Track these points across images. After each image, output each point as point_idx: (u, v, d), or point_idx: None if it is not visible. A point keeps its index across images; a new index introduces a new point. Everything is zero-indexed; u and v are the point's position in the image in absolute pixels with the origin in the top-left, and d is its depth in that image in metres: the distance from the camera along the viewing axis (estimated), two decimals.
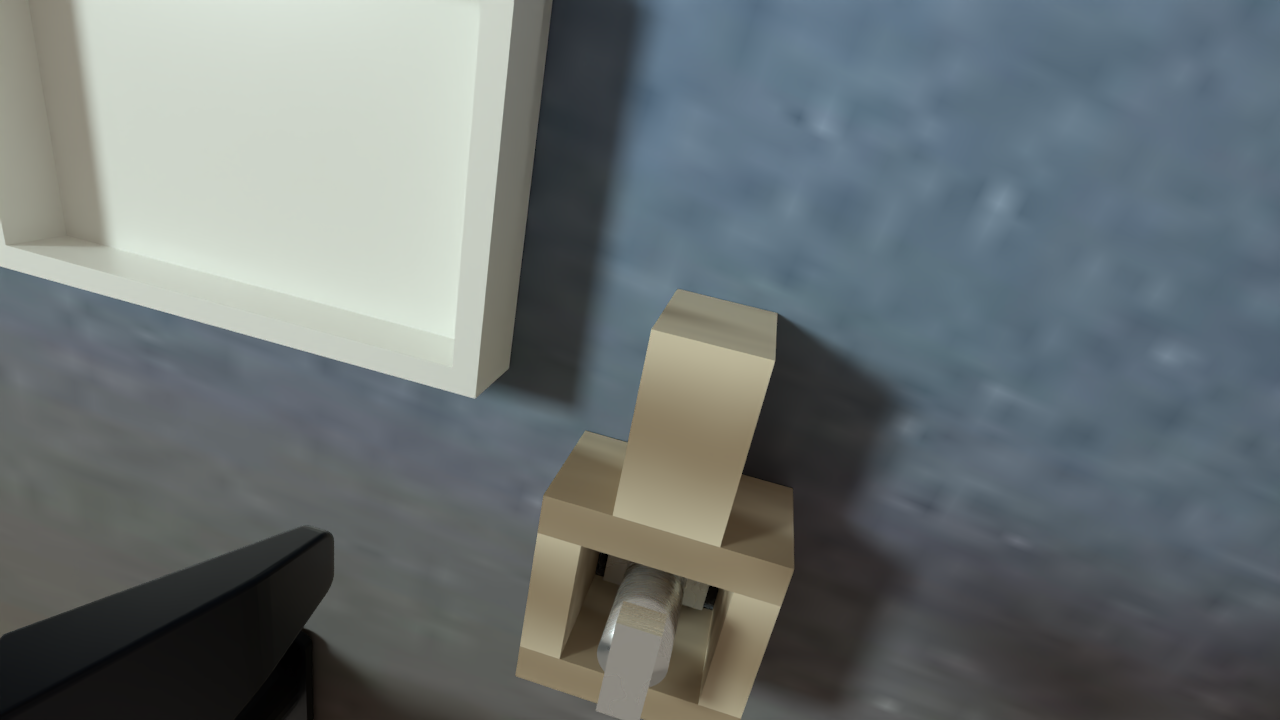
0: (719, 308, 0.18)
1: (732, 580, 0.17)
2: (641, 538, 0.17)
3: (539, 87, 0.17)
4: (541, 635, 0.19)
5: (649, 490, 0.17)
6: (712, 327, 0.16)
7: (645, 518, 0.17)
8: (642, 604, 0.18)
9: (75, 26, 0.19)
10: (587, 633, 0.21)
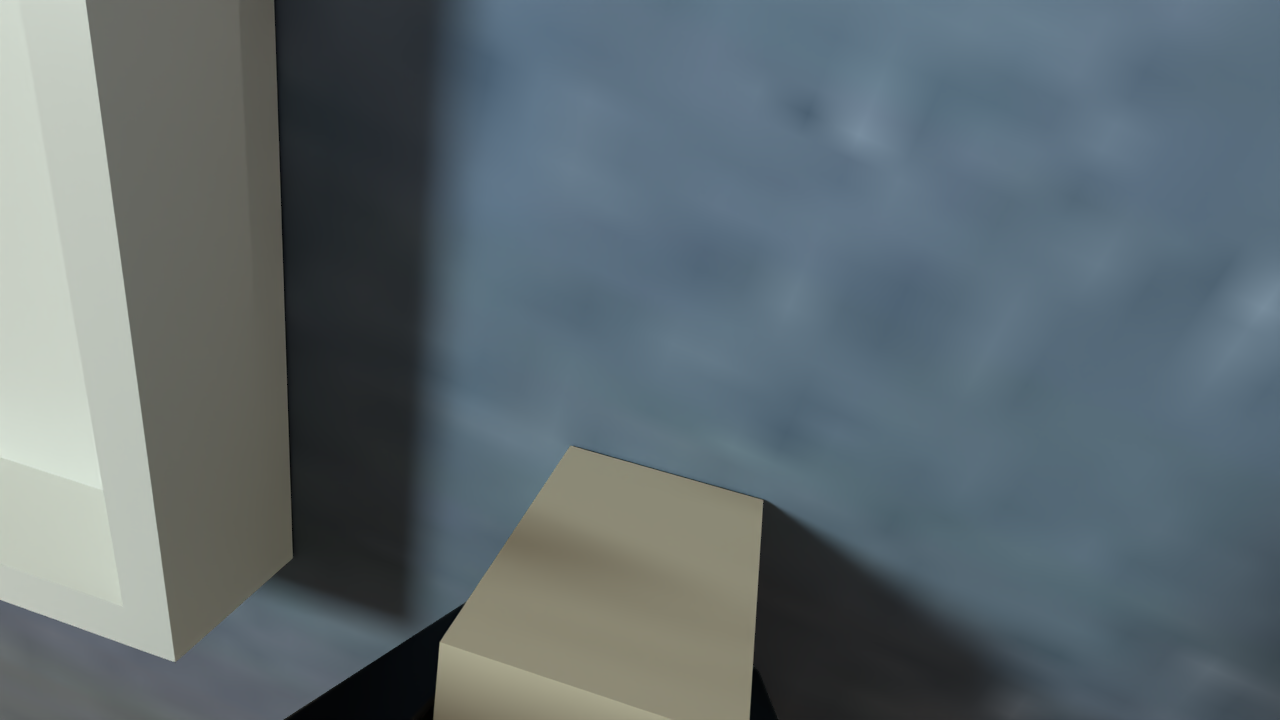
0: (642, 506, 0.09)
1: None
2: None
3: (263, 51, 0.08)
4: None
5: None
6: (609, 592, 0.07)
7: None
8: None
9: None
10: None
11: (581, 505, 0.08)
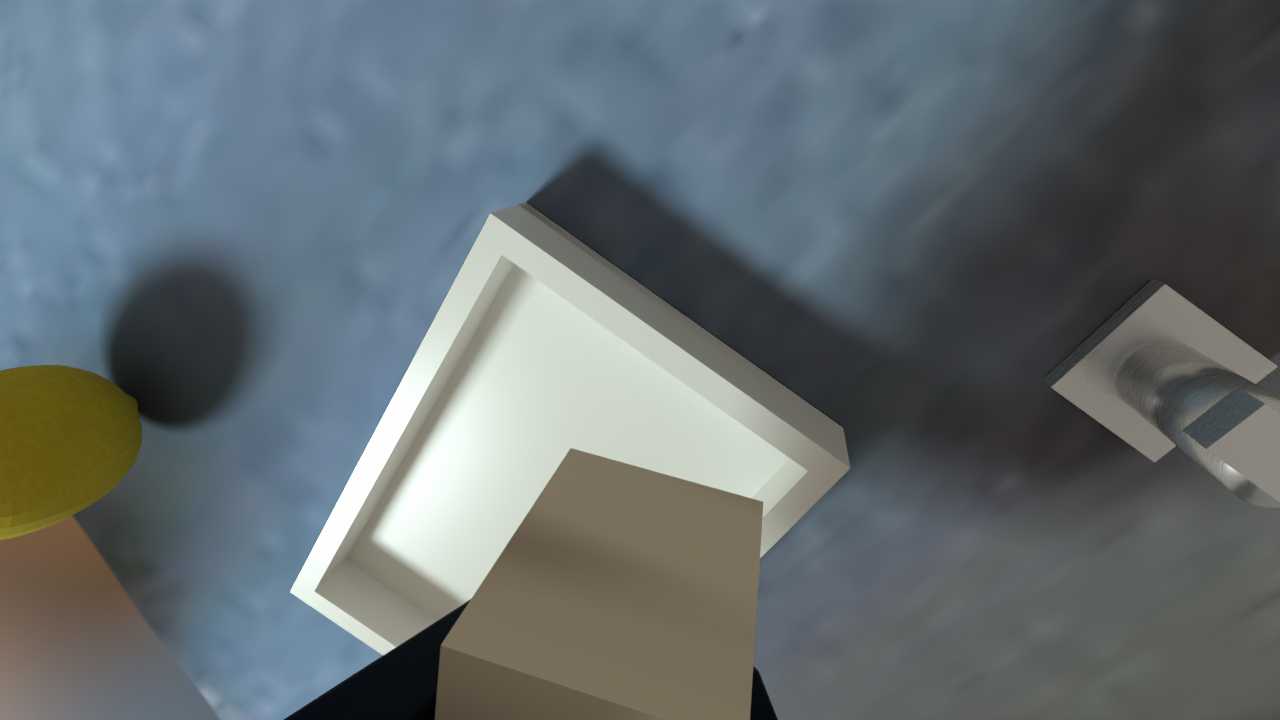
0: (642, 508, 0.09)
1: None
2: None
3: (612, 267, 0.19)
4: None
5: None
6: (609, 594, 0.07)
7: None
8: None
9: (435, 584, 0.25)
10: None
11: (581, 507, 0.08)
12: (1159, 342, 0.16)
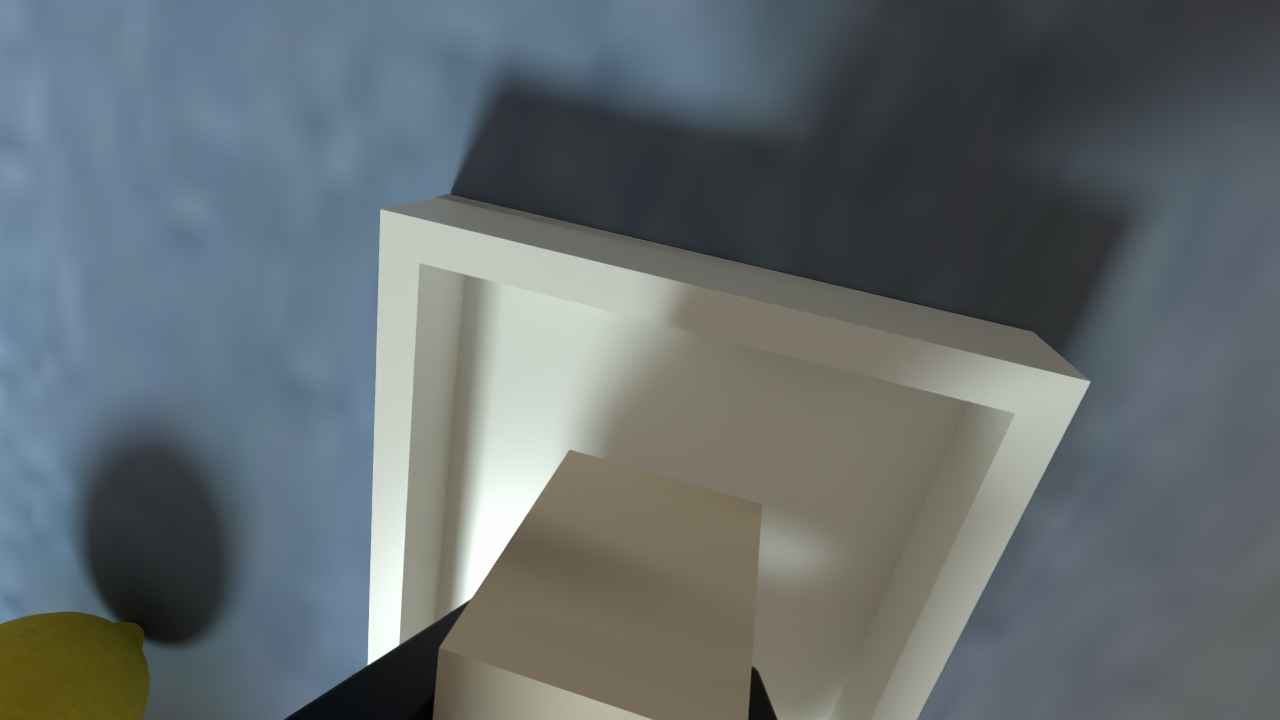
0: (641, 510, 0.09)
1: None
2: None
3: (594, 230, 0.13)
4: None
5: None
6: (607, 597, 0.07)
7: None
8: None
9: None
10: None
11: (580, 509, 0.08)
12: None
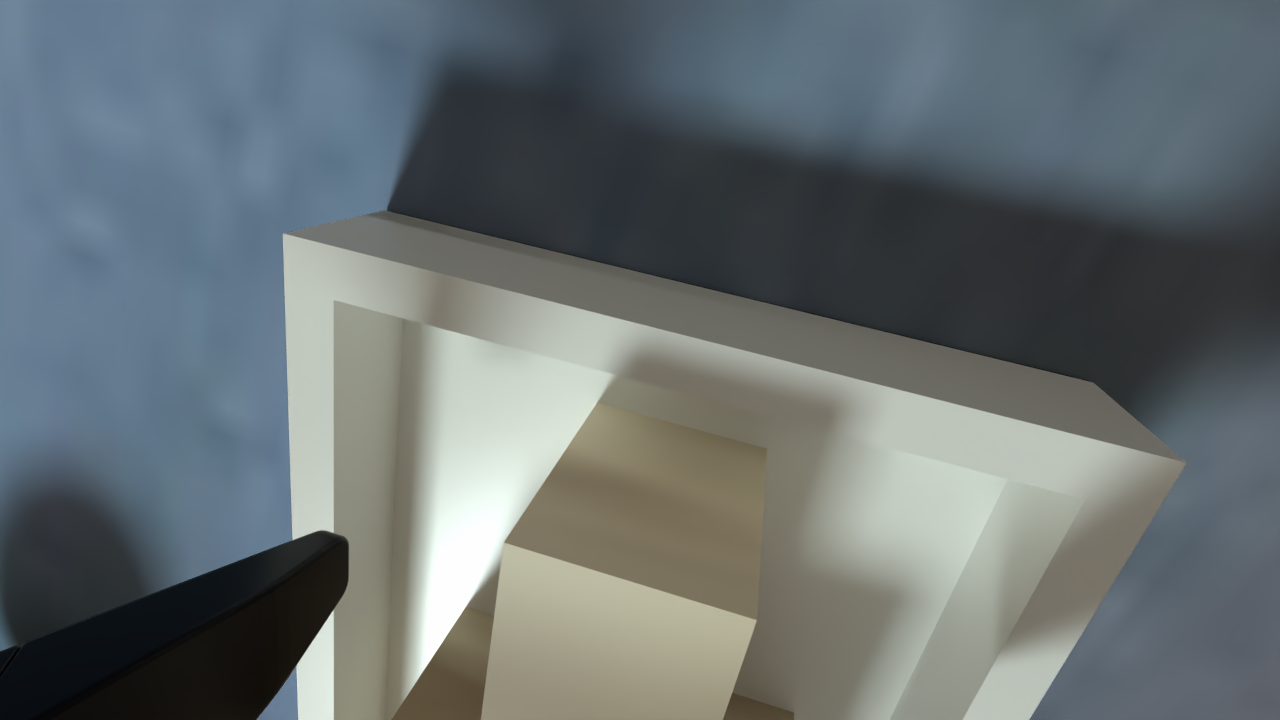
0: (662, 450, 0.10)
1: None
2: None
3: (556, 255, 0.11)
4: None
5: None
6: (638, 512, 0.08)
7: None
8: None
9: None
10: None
11: (610, 448, 0.10)
12: None
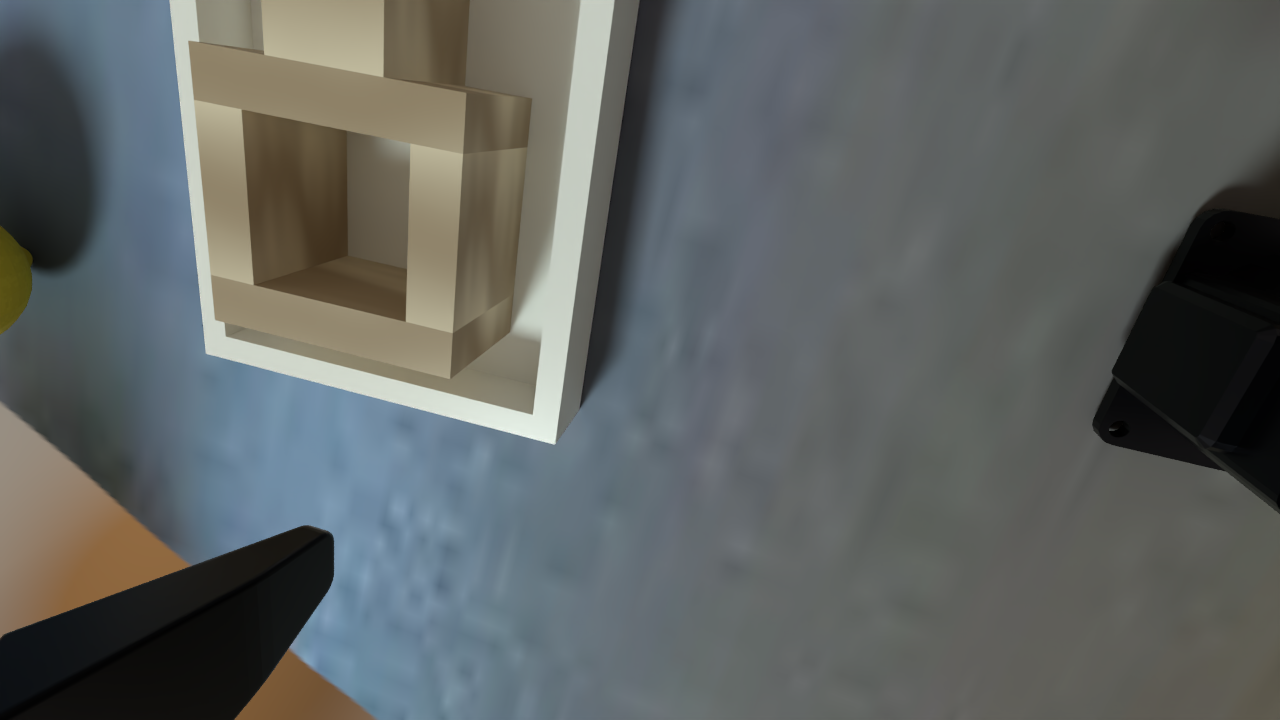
0: None
1: (405, 125, 0.14)
2: (300, 82, 0.15)
3: None
4: (228, 253, 0.17)
5: (294, 6, 0.14)
6: None
7: (298, 51, 0.14)
8: None
9: None
10: (304, 278, 0.18)
11: None
12: None
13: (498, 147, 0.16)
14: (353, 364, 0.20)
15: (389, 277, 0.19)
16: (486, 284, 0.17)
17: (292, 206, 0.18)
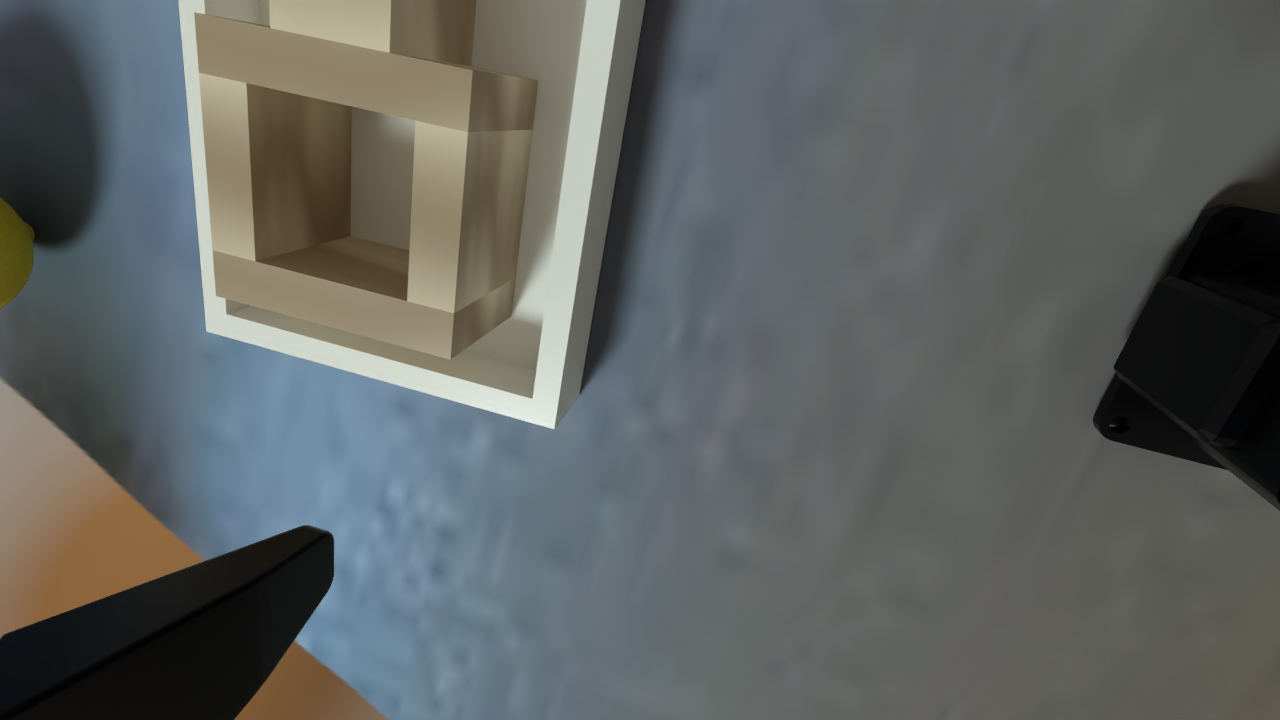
0: None
1: (410, 101, 0.14)
2: (305, 57, 0.15)
3: None
4: (230, 229, 0.17)
5: None
6: None
7: (304, 25, 0.14)
8: None
9: None
10: (306, 256, 0.18)
11: None
12: None
13: (503, 127, 0.16)
14: (353, 345, 0.20)
15: (392, 257, 0.19)
16: (488, 266, 0.17)
17: (295, 183, 0.18)
